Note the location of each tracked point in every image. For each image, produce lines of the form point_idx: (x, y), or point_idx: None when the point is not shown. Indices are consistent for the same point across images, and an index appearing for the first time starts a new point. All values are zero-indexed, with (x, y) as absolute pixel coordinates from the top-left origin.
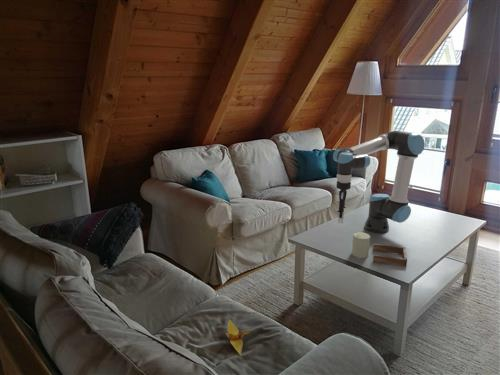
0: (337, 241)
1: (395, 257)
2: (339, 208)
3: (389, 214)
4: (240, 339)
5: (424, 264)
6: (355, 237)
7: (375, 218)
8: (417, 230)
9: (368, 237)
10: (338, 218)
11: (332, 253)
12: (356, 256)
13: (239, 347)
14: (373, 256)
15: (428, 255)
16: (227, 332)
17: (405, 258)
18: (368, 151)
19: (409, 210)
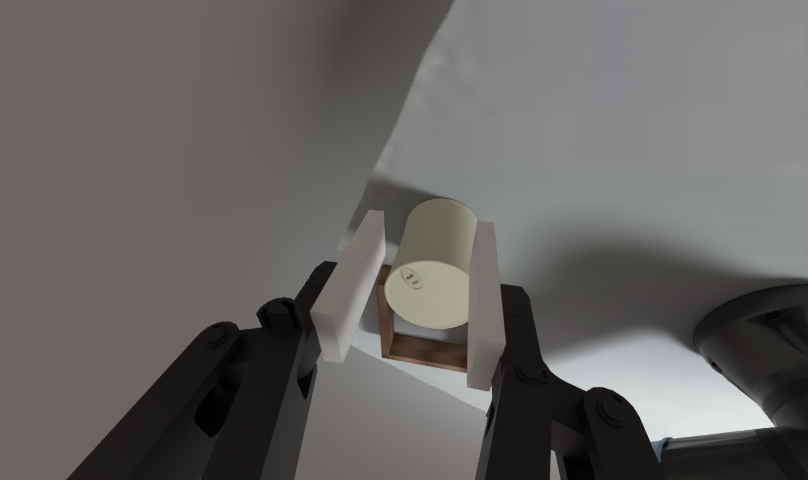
0: (597, 122)
1: (387, 337)
2: (151, 399)
3: (690, 473)
4: None
5: (417, 371)
6: (397, 266)
7: (789, 384)
8: (689, 425)
9: (415, 319)
10: (352, 243)
11: (415, 99)
12: (408, 216)
13: None
14: (378, 281)
15: (476, 392)
16: None
17: (390, 356)
18: None
19: None
